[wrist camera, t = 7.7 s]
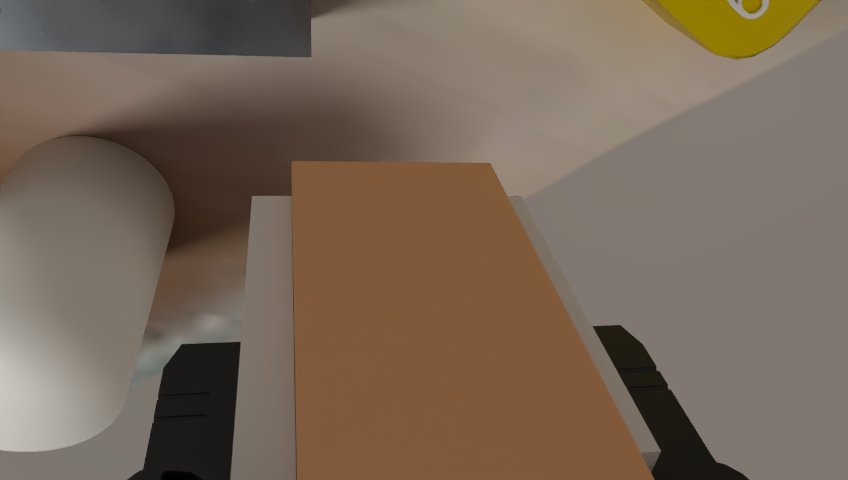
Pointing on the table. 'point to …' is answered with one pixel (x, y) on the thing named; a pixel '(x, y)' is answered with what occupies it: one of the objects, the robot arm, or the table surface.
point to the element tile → (733, 22)
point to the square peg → (436, 336)
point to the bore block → (158, 26)
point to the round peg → (75, 286)
